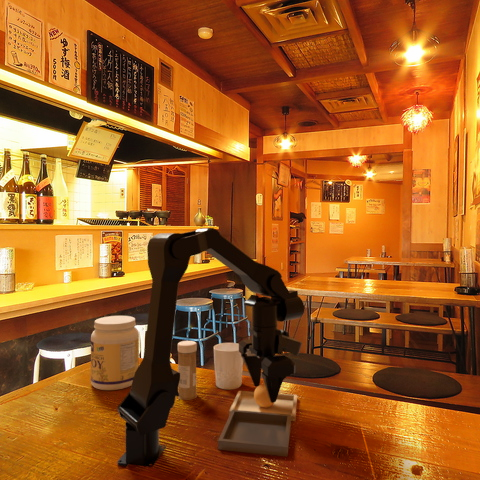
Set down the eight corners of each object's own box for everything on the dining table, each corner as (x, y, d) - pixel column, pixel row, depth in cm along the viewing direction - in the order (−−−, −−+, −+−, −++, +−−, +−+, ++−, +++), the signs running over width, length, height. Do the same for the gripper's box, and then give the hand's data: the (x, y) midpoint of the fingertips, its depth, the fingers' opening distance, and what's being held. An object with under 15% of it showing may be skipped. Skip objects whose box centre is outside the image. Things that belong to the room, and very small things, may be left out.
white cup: (245, 379, 104) (244, 342, 104) (242, 391, 96) (242, 351, 96) (216, 378, 105) (216, 342, 105) (211, 390, 97) (211, 350, 97)
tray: (295, 423, 80) (295, 416, 80) (229, 418, 82) (229, 411, 82) (297, 401, 91) (297, 394, 91) (238, 396, 93) (238, 390, 93)
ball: (275, 412, 84) (275, 389, 83) (252, 410, 84) (252, 388, 84) (277, 402, 88) (277, 381, 88) (255, 400, 89) (255, 379, 89)
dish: (287, 459, 67) (287, 447, 67) (218, 452, 69) (218, 440, 69) (291, 425, 79) (291, 414, 79) (232, 420, 81) (232, 409, 81)
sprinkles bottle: (200, 398, 92) (200, 342, 92) (185, 404, 89) (185, 346, 89) (189, 392, 96) (189, 338, 95) (174, 398, 92) (173, 342, 92)
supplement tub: (81, 384, 101) (81, 320, 101) (120, 371, 111) (120, 313, 111) (108, 396, 94) (108, 327, 94) (148, 381, 103) (148, 318, 103)
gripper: (317, 331, 80) (317, 405, 80) (279, 314, 98) (279, 375, 98) (268, 335, 76) (268, 414, 77) (237, 317, 94) (238, 380, 94)
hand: (264, 393), depth 86 cm, fingers open, 9 cm apart
